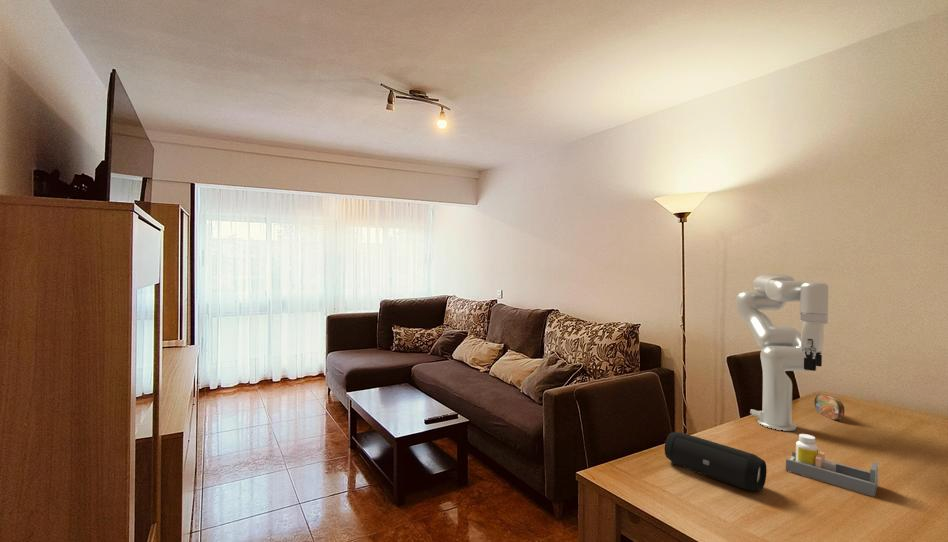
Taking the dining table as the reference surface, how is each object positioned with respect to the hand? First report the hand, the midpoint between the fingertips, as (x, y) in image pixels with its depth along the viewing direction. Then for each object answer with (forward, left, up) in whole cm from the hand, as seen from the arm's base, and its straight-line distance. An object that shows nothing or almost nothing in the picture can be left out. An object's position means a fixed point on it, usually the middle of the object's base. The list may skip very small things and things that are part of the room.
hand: (812, 367), depth 147 cm
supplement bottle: (+2, -21, -28) cm, 35 cm away
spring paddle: (+7, -21, -27) cm, 35 cm away
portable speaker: (-16, -46, -29) cm, 56 cm away
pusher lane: (+8, -21, -28) cm, 36 cm away
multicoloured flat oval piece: (-2, +48, -29) cm, 56 cm away
